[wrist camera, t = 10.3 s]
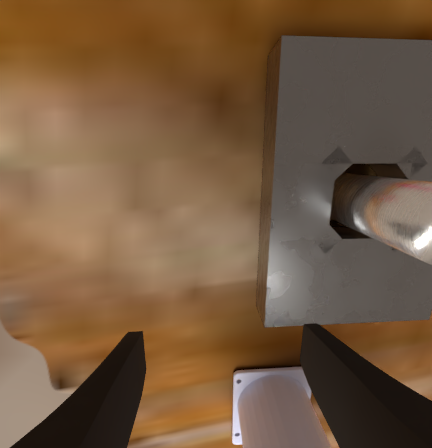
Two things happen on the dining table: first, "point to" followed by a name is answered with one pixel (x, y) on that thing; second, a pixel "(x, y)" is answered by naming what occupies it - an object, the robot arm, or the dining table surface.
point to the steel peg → (387, 211)
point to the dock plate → (331, 169)
